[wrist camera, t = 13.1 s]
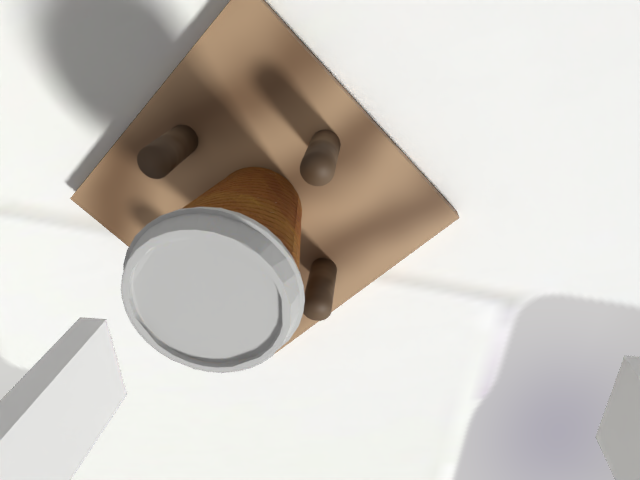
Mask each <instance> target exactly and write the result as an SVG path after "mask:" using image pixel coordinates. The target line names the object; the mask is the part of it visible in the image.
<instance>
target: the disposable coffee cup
mask: <svg viewBox="0 0 640 480" xmlns="http://www.w3.org/2000/svg"><path fill="white" fill-rule="evenodd" d="M301 217H302V206H301V201H300V198H299V195H298V193H297V192H296V190H295V189H294V187H293V186H292V184H291V183H290V182H289V181H288V180H287V179H286V178H284V177H283V176H281V175H280V174H278V173H276V172H274V171H272V170H270V169H266V168H262V167H246V168H242V169H239V170H236V171H235V172H233V173H231V174H229V175H228V176H227V177H226V178H224V179H223V180H222V181H220V182H219V183H217V184H216V185H214V186H213V187H211V188H210V189H209V190H207V191H206V192H204V193H203V194H202V195H200V196H199V197H198V198H196V199H195V200H193V201H192V202H190V203H189V204H187V205H186V206H184V207H183V208H182V209H179V210H176V211H173V212H170V213H167V214H164V215H161V216H159V217H158V218H156V219H155V220H153V221H151V222H150V223H148V224H147V225H146V226H145V227H144V228H143V229H142V230H141V231H140V232H139V233H138V234H137V235H136V236H135V237H134V239H133V241H132V243H131V244H130V246H129V248H128V250H127V253H126V257H125V261H124V272H123V275H122V284H121V293H122V300H123V303H124V307H125V311H126V313H127V315H128V317H129V319H130V321H131V323H132V325H133V326H134V327H135V329H136V330H137V332H138V333H139V334H140V335H141V336H142V337H143V338H144V340H145V341H146V342H147V343H148V344H150V345H151V346H152V347H153V348H154V349H156V350H157V351H158V352H160V353H161V354H163V355H164V356H166V357H168V358H169V359H171V360H173V361H176V362H178V363H181V364H183V365H186V366H188V367H191V368H193V369H197V370H202V371H207V372H218V373H226V372H235V371H242V370H245V369H249V368H252V367H254V366H257V365H259V364H261V363H263V362H264V361H266V360H267V359H268V358H270V357H271V356H273V355H274V353H275V352H276V351H277V350H278V349H279V348H281V347H282V346H283V345H284V344H285V343H286V342H288V341H289V340H290V338H291V337H292V335H293V334H294V332H295V331H296V329H297V328H298V326H299V324H300V321H301V318H302V315H303V311H304V303H305V295H304V285H303V281H302V278H301V274H300V272H299V264H300V239H301Z"/></svg>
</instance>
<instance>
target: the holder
mask: <svg viewBox="0 0 640 480" xmlns="http://www.w3.org/2000/svg"><path fill="white" fill-rule="evenodd" d="M246 167H262V168H266V169H270V170H272V171H274V172H276V173H278V174H280V175H281V176H283V177H284V178H286V179H287V180H288V181H289V182H290V183H291V184H292V186H293V187H294V189H295V190H296V192H297V193H298V195H299V198H300V201H301V206H302V217H301V239H300V264H299V272H300V274H301V278H302V281H303V285H304V295H305V303H304V311H303V315H302V318H301V321H300V324H299V326H298V328H297V329H296V331H295V332H294V334H293V335H292V337H291V338H290V340H289V341H288V342H286V343H285V344H284V345H283V346H282V347H281V348H279V349H278V350H277V351H276V352H278V351H279V350H280V349H282V348H283V347H284V346H286V345H287V344H289V343H290V342H291V341H293V340H294V339H295V338H297V337H298V336H299V335H301V334H302V333H303V332H305V331H306V330H308V329H309V328H310V327H312V326H313V325H314V324H316V323H317V322H318V321H321V320H324V319H326V318H328V317H329V316H330V314H331V312H332V311H333V310H335V309H336V308H337V307H339V306H340V305H342V304H343V303H344V302H346V301H347V300H348V299H350V298H351V297H352V296H354V295H355V294H356V293H358V292H359V291H361V290H362V289H363V288H365V287H366V286H367V285H369V284H370V283H371V282H373V281H374V280H376V279H377V278H378V277H380V276H381V275H382V274H384V273H385V272H386V271H388V270H389V269H390V268H392V267H393V266H395V265H396V264H397V263H399V262H400V261H401V260H403V259H404V258H405V257H407V256H408V255H409V254H411V253H412V252H414V251H415V250H416V249H418V248H419V247H420V246H422V245H423V244H424V243H426V242H427V241H429V240H430V239H431V238H433V237H434V236H435V235H437V234H438V233H439V232H441V231H442V230H443V229H445V228H446V227H448V226H449V225H450V224H452V223H453V222H454V221H456V220H457V219H458V218H459V215H458V213H457V211H456V210H455V209H454V208H453V207H452V206H451V205H450V203H449V202H448V201H447V200H446V199H445V198H444V197H443V196H442V195H441V194H440V193H439V191H438V190H437V189H436V188H435V187H434V186H433V185H432V184H431V183H430V182H429V180H428V179H427V178H426V177H425V176H424V175H423V174H422V173H421V172H420V171H419V169H418V168H417V167H416V166H415V165H414V164H413V163H412V162H411V161H410V160H409V159H408V157H407V156H406V155H405V154H404V153H403V152H402V151H401V150H400V149H399V148H398V146H397V145H396V144H395V143H394V142H393V141H392V140H391V139H390V138H389V137H388V136H387V134H386V133H385V132H384V131H383V130H382V129H381V128H380V127H379V126H378V125H377V123H376V122H375V121H374V120H373V119H372V118H371V117H370V116H369V115H368V114H367V113H366V111H365V110H364V109H363V108H362V107H361V106H360V105H359V104H358V103H357V102H356V100H355V99H354V98H353V97H352V96H351V95H350V94H349V93H348V92H347V91H346V90H345V88H344V87H343V86H342V85H341V84H340V83H339V82H338V81H337V80H336V79H335V77H334V76H333V75H332V74H331V73H330V72H329V71H328V70H327V69H326V68H325V67H324V65H323V64H322V63H321V62H320V61H319V60H318V59H317V58H316V57H315V56H314V54H313V53H312V52H311V51H310V50H309V49H308V48H307V47H306V46H305V45H304V44H303V42H302V41H301V40H300V39H299V38H298V37H297V36H296V35H295V34H294V33H293V31H292V30H291V29H290V28H289V27H288V26H287V25H286V24H285V23H284V22H283V21H282V19H281V18H280V17H279V16H278V15H277V14H276V13H275V12H274V11H273V10H272V8H271V7H270V6H269V5H268V4H267V3H266V2H265V1H264V0H230V2H229V3H228V4H227V5H226V7H225V8H224V9H223V10H222V12H221V13H220V14H219V15H218V16H217V18H216V19H215V20H214V21H213V23H212V24H211V25H210V26H209V28H208V29H207V30H206V31H205V33H204V34H203V35H202V36H201V37H200V39H199V40H198V41H197V42H196V44H195V45H194V46H193V47H192V49H191V50H190V51H189V52H188V54H187V55H186V56H185V57H184V59H183V60H182V61H181V62H180V63H179V65H178V66H177V67H176V68H175V70H174V71H173V72H172V73H171V75H170V76H169V77H168V78H167V80H166V81H165V82H164V83H163V84H162V86H161V87H160V88H159V89H158V91H157V92H156V93H155V94H154V96H153V97H152V98H151V99H150V101H149V102H148V103H147V104H146V105H145V107H144V108H143V109H142V110H141V112H140V113H139V114H138V115H137V117H136V118H135V119H134V120H133V122H132V123H131V124H130V125H129V127H128V128H127V129H126V130H125V131H124V133H123V134H122V135H121V136H120V138H119V139H118V140H117V141H116V143H115V144H114V145H113V146H112V148H111V149H110V150H109V151H108V152H107V154H106V155H105V156H104V157H103V159H102V160H101V161H100V162H99V164H98V165H97V166H96V167H95V169H94V170H93V171H92V172H91V173H90V175H89V176H88V177H87V178H86V180H85V181H84V182H83V183H82V185H81V186H80V187H79V188H78V190H77V191H76V192H75V193H74V194H73V196H72V197H71V198H70V199H71V200H72V201H74V202H75V203H76V204H77V205H79V206H80V207H81V208H82V209H83V210H85V211H86V212H87V213H88V214H90V215H91V216H92V217H93V218H94V219H96V220H97V221H98V222H99V223H101V224H102V225H103V226H104V227H105V228H107V229H108V230H109V231H110V232H111V233H113V234H114V235H115V236H116V237H118V238H119V239H120V240H121V241H122V242H124V243H125V244H126V245H127V246H130V244H131V243H132V241H133V239H134V237H135V236H136V235H137V234H138V233H139V232H140V231H141V230H142V229H143V228H144V227H145V226H146V225H147V224H148V223H150V222H151V221H153V220H155V219H156V218H158V217H159V216H161V215H164V214H167V213H170V212H173V211H176V210H179V209H182V208H183V207H184V206H186V205H187V204H189V203H190V202H192V201H193V200H195V199H196V198H198V197H199V196H200V195H202V194H203V193H204V192H206V191H207V190H209V189H210V188H211V187H213V186H214V185H216V184H217V183H219V182H220V181H222V180H223V179H224V178H226V177H227V176H228V175H229V174H231V173H233V172H235V171H236V170H239V169H242V168H246ZM276 352H275V353H276ZM275 353H274V354H275Z"/></svg>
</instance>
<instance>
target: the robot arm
mask: <svg viewBox="0 0 640 480" xmlns="http://www.w3.org/2000/svg"><path fill="white" fill-rule="evenodd" d="M126 395H127V392H126V388H125V384H124V381H123V377H122V374H121V370H120V366H119V363H118V359H117V356H116V352H115V348H114V345H113V341H112V338H111V334H110V331H109V327H108V323H107V320H106V319H95V318H81V317H80V318H79V319H78V320H77V321H76V322H75V323H74V324H73V326H72V327H71V328H70V329H69V330H68V331H67V332H66V333H65V334H64V335H63V336H62V337H61V338H60V339H59V340H58V341H57V342H56V343H55V344H54V345H53V346H52V347H51V348H50V349H49V351H48V352H47V353H46V354H45V355H44V356H43V357H42V358H41V359H40V360H39V361H38V362H37V363H36V364H35V365H34V366H33V367H32V368H31V369H30V370H29V371H28V372H27V373H26V374H25V376H24V377H23V378H22V379H21V380H20V381H19V382H18V383H17V384H16V385H15V386H14V387H13V388H12V389H11V390H10V391H9V392H8V393H7V394H6V395H5V396H4V397H3V398H2V399H1V400H0V480H71V479H72V477H73V476H74V474H75V473H76V471H77V470H78V468H79V467H80V465H81V464H82V462H83V461H84V459H85V458H86V456H87V454H88V453H89V451H90V450H91V448H92V447H93V445H94V444H95V442H96V441H97V439H98V438H99V436H100V435H101V433H102V432H103V430H104V429H105V427H106V426H107V424H108V423H109V421H110V420H111V418H112V417H113V415H114V414H115V412H116V411H117V409H118V407H119V406H120V404H121V403H122V401H123V400H124V398H125V397H126ZM596 439H597V441H598V444H599V446H600V448H601V450H602V452H603V454H604V457H605V459H606V461H607V463H608V466H609V468H610V470H611V472H612V474H613V476H614V479H615V480H640V357H634V356H624V358H623V362H622V364H621V367H620V369H619V372H618V375H617V378H616V381H615V384H614V387H613V389H612V392H611V395H610V398H609V401H608V403H607V406H606V409H605V412H604V415H603V417H602V420H601V423H600V426H599V429H598V431H597V435H596Z"/></svg>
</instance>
